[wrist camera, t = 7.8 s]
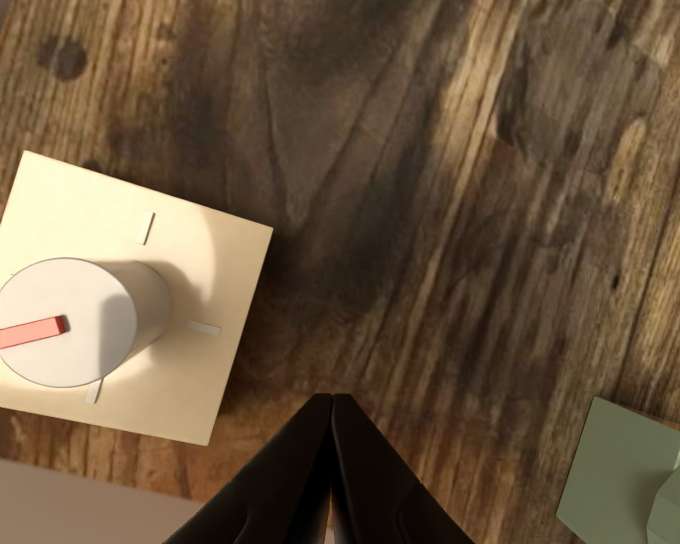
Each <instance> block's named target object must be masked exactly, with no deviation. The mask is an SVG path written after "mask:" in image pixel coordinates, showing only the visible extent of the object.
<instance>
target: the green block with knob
mask: <svg viewBox="0 0 680 544" xmlns="http://www.w3.org/2000/svg"><path fill="white" fill-rule="evenodd" d="M556 517H557V518H558V519H560V520H561V521H562V522H563V523H564V524H565V525H566V526H567V527H568V528H570V529H571V530H572V531H573V532H574V533H575V534H576V535H577V536H578V537H580V538H581V539H582V540H583V541H584V542H585V543H586V544H680V424H678V423H675V422H672V421H669V420H666V419H663V418H660V417H657V416H654V415H651V414H648V413H645V412H642V411H639V410H636V409H633V408H630V407H627V406H624V405H621V404H618V403H615V402H612V401H609V400H606V399H603V398H600V397H597V396H594V398H593V401H592V404H591V407H590V410H589V413H588V416H587V419H586V422H585V426H584V429H583V432H582V435H581V438H580V441H579V444H578V447H577V450H576V453H575V457H574V460H573V463H572V466H571V469H570V472H569V475H568V478H567V481H566V484H565V488H564V491H563V494H562V497H561V500H560V503H559V506H558V509H557V512H556Z"/></svg>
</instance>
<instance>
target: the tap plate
mask: <svg viewBox="0 0 680 544" xmlns="http://www.w3.org/2000/svg"><path fill="white" fill-rule="evenodd" d="M272 236H273V228H272V227H269V226H265V225H262V224H259V223H256V222H253V221H250V220H246V219H243V218H240V217H237V216H234V215H231V214H227V213H224V212H221V211H218V210H215V209H212V208H208V207H205V206H202V205H199V204H196V203H193V202H189V201H186V200H183V199H180V198H177V197H174V196H170V195H167V194H164V193H161V192H158V191H155V190H151V189H148V188H145V187H142V186H139V185H136V184H133V183H129V182H126V181H123V180H120V179H117V178H114V177H110V176H107V175H104V174H101V173H98V172H95V171H91V170H88V169H85V168H82V167H79V166H76V165H72V164H69V163H66V162H63V161H60V160H57V159H53V158H50V157H47V156H44V155H41V154H38V153H34V152H31V151H28V150H24V152H23V155H22V158H21V161H20V165H19V168H18V171H17V174H16V177H15V180H14V183H13V186H12V189H11V193H10V196H9V199H8V202H7V205H6V208H5V211H4V214H3V217H2V221H1V224H0V289H1V288H2V287H3V286H4V284H5V283H6V282H7V281H8V280H9V279H10V278H11V277H12V276H13V275H15V274H16V273H17V272H19V271H20V270H22V269H23V268H25V267H27V266H29V265H31V264H33V263H36V262H38V261H42V260H46V259H51V258H59V257H88V258H127V259H132V260H136V261H138V262H141V263H143V264H145V265H147V266H149V267H150V268H152V269H153V270H154V271H155V272H157V273H158V274H159V276H160V277H161V278H162V279H163V281H164V282H165V284H166V286H167V287H168V290H169V293H170V296H171V303H172V310H171V316H170V320H169V323H168V325H167V327H166V329H165V331H164V332H163V333H162V335H161V336H160V337H159V338H158V339H157V340H156V341H155V342H154V343H153V344H151V345H150V346H149V347H147V348H146V349H144V350H143V351H141V352H140V353H139V354H137V355H136V356H134V357H133V358H132V359H130V360H129V361H127V362H126V363H124V364H123V365H122V366H120V367H119V368H117V369H116V370H115V371H113V372H112V373H110V374H109V375H107V376H105V377H104V378H102V379H100V380H98V381H96V382H94V383H91V384H88V385H84V386H79V387H73V388H54V387H47V386H43V385H39V384H36V383H33V382H31V381H28V380H26V379H24V378H23V377H21V376H19V375H18V374H16V373H15V372H14V371H12V370H11V369H10V368H9V367H8V366H7V365H6V364H5V363H4V361H3V360H2V359H1V358H0V407H4V408H9V409H14V410H20V411H25V412H30V413H35V414H41V415H46V416H51V417H56V418H62V419H67V420H72V421H77V422H83V423H88V424H93V425H98V426H104V427H109V428H114V429H119V430H125V431H130V432H135V433H140V434H145V435H151V436H156V437H161V438H166V439H172V440H177V441H182V442H187V443H193V444H198V445H203V446H208V443H209V440H210V437H211V434H212V432H213V429H214V426H215V423H216V420H217V417H218V414H219V410H220V407H221V404H222V401H223V397H224V394H225V391H226V387H227V384H228V381H229V377H230V374H231V371H232V368H233V364H234V361H235V358H236V354H237V351H238V348H239V345H240V341H241V338H242V335H243V331H244V328H245V325H246V321H247V318H248V315H249V312H250V308H251V305H252V302H253V298H254V295H255V292H256V288H257V285H258V282H259V279H260V275H261V272H262V269H263V265H264V262H265V259H266V256H267V252H268V249H269V246H270V242H271V239H272Z"/></svg>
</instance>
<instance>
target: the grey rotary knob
mask: <svg viewBox="0 0 680 544" xmlns="http://www.w3.org/2000/svg"><path fill="white" fill-rule="evenodd" d="M171 310H172V303H171V296H170V293H169V290H168V287H167V286H166V284H165V282H164V281H163V279H162V278H161V277H160V276H159V274H158V273H157V272H155V271H154V270H153V269H152V268H150V267H149V266H147V265H145V264H143V263H141V262H138V261H136V260H132V259H127V258H88V257H59V258H51V259H46V260H42V261H38V262H36V263H33V264H31V265H29V266H27V267H25V268H23V269H22V270H20V271H19V272H17V273H16V274H15V275H13V276H12V277H11V278H10V279H9V280H8V281H7V282H6V283H5V284H4V286H3V287H2V288H1V289H0V358H1V359H2V360H3V361H4V363H5V364H6V365H7V366H8V367H9V368H10V369H11V370H12V371H14V372H15V373H16V374H18V375H19V376H21V377H23V378H24V379H26V380H28V381H31V382H33V383H36V384H39V385H43V386H47V387H54V388H73V387H79V386H84V385H88V384H91V383H94V382H96V381H98V380H100V379H102V378H104V377H105V376H107V375H109V374H110V373H112V372H113V371H115V370H116V369H117V368H119V367H120V366H122V365H123V364H124V363H126V362H127V361H129V360H130V359H132V358H133V357H134V356H136V355H137V354H139V353H140V352H141V351H143V350H144V349H146V348H147V347H149V346H150V345H151V344H153V343H154V342H155V341H156V340H157V339H158V338H159V337H160V336H161V335H162V333H163V332H164V331H165V329H166V327H167V325H168V323H169V320H170V316H171Z"/></svg>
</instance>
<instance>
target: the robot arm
mask: <svg viewBox="0 0 680 544" xmlns="http://www.w3.org/2000/svg"><path fill="white" fill-rule="evenodd" d="M330 498H331V502H332V516H333V527H334V538H335V544H475V543H474V542H473V541H472V540H471V539H470V538H469V537H468V536H467V535H466V534H465V532H464V531H463V530H462V529H461V528H460V527H459V526H458V525H457V524H456V523H455V522H454V521H453V520H452V519H451V518H450V517H449V515H448V514H447V513H446V512H445V511H444V509H443V508H442V507H441V506H440V505H439V504H438V502H437V501H436V500H435V499H434V498H433V497H432V495H431V494H430V493H429V492H428V490H427V489H426V488H425V486H424V485H423V484H422V483H420V480H419V479H418V478H417V477H416V475H415V474H414V473H413V472H412V470H411V469H410V468H409V467H408V465H407V464H406V463H405V462H404V460H403V459H402V458H401V457H400V455H399V454H398V453H397V452H396V450H395V449H394V448H393V447H392V445H391V444H390V443H389V442H388V440H387V439H386V438H385V437H384V435H383V434H382V433H381V432H380V430H379V429H378V428H377V427H376V425H375V424H374V423H373V422H372V420H371V419H370V418H369V417H368V415H367V414H366V413H365V412H364V410H363V409H362V408H361V407H360V405H359V404H358V403H357V402H356V400H355V399H354V398H353V397H352V395H351V394H334V395H333V397H332V395H331V394H328V393H317V394H314V395H313V396H312V397H311V398H310V399H309V400H308V401H307V402H306V403H305V404H304V405H303V406H302V407H301V408H300V409H299V410H298V411H297V412H296V413H295V414H294V415H293V416H292V417H291V419H290V420H289V421H288V422H287V423H286V424H285V425H284V426H283V427H282V428H281V429H280V430H279V431H278V432H277V433H276V434H275V435H274V436H273V437H272V438H271V439H270V440H269V441H268V442H267V443H266V444H265V445H264V446H263V447H262V448H261V449H260V450H259V451H258V452H257V453H256V454H255V455H254V456H253V457H252V458H251V459H250V460H249V461H248V462H247V463H246V464H245V465H244V466H243V467H242V468H241V469H240V471H239V472H238V473H237V474H236V475H235V476H234V477H233V478H232V479H231V482H228V483H227V484H226V485H225V486H224V487H223V488H222V489H221V490H220V491H219V492H218V493H217V494H216V495H215V496H214V497H213V498H212V499H211V500H210V501H209V502H207V503H206V504H205V505H204V506H203V507H202V508H201V509H200V510H199V511H198V512H197V513H196V514H195V515H194V516H193V517H192V518H191V519H189V520H188V521H187V522H186V523H185V524H184V525H183V526H182V527H180V528H179V529H178V530H177V531H176V532H175V533H174V534H173V535H171V536H170V537H169V538H168V539H167V540H166V541H164V542H163V543H162V544H324V541H325V534H326V527H327V521H328V514H329V507H330Z"/></svg>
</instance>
